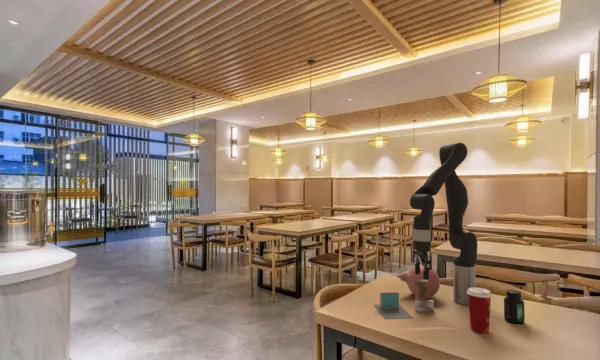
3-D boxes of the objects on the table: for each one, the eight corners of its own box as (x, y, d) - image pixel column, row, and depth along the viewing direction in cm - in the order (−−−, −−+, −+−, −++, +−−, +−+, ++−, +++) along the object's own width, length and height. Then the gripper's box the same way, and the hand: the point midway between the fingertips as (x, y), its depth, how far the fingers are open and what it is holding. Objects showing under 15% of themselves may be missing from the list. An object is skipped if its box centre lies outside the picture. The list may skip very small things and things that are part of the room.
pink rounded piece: (396, 290, 167) (396, 260, 168) (437, 293, 161) (437, 263, 162) (396, 299, 153) (396, 267, 153) (442, 304, 147) (441, 270, 147)
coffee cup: (497, 335, 115) (496, 293, 116) (474, 335, 115) (473, 293, 116) (484, 325, 124) (483, 286, 124) (463, 325, 124) (462, 286, 124)
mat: (399, 306, 144) (399, 304, 144) (413, 320, 128) (413, 318, 128) (373, 306, 144) (373, 304, 144) (384, 321, 128) (384, 319, 128)
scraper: (429, 309, 140) (429, 279, 141) (433, 312, 136) (433, 282, 137) (411, 309, 140) (411, 279, 140) (415, 313, 136) (415, 282, 136)
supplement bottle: (525, 326, 123) (524, 295, 123) (504, 322, 126) (503, 292, 127) (523, 320, 129) (523, 290, 129) (503, 316, 132) (503, 287, 133)
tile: (397, 306, 141) (397, 290, 141) (399, 308, 139) (398, 292, 139) (379, 307, 141) (379, 291, 141) (381, 308, 139) (381, 292, 139)
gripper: (438, 242, 133) (437, 281, 132) (422, 237, 147) (422, 272, 146) (420, 242, 132) (420, 281, 132) (407, 237, 147) (406, 272, 146)
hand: (421, 276), depth 139 cm, fingers open, 8 cm apart
